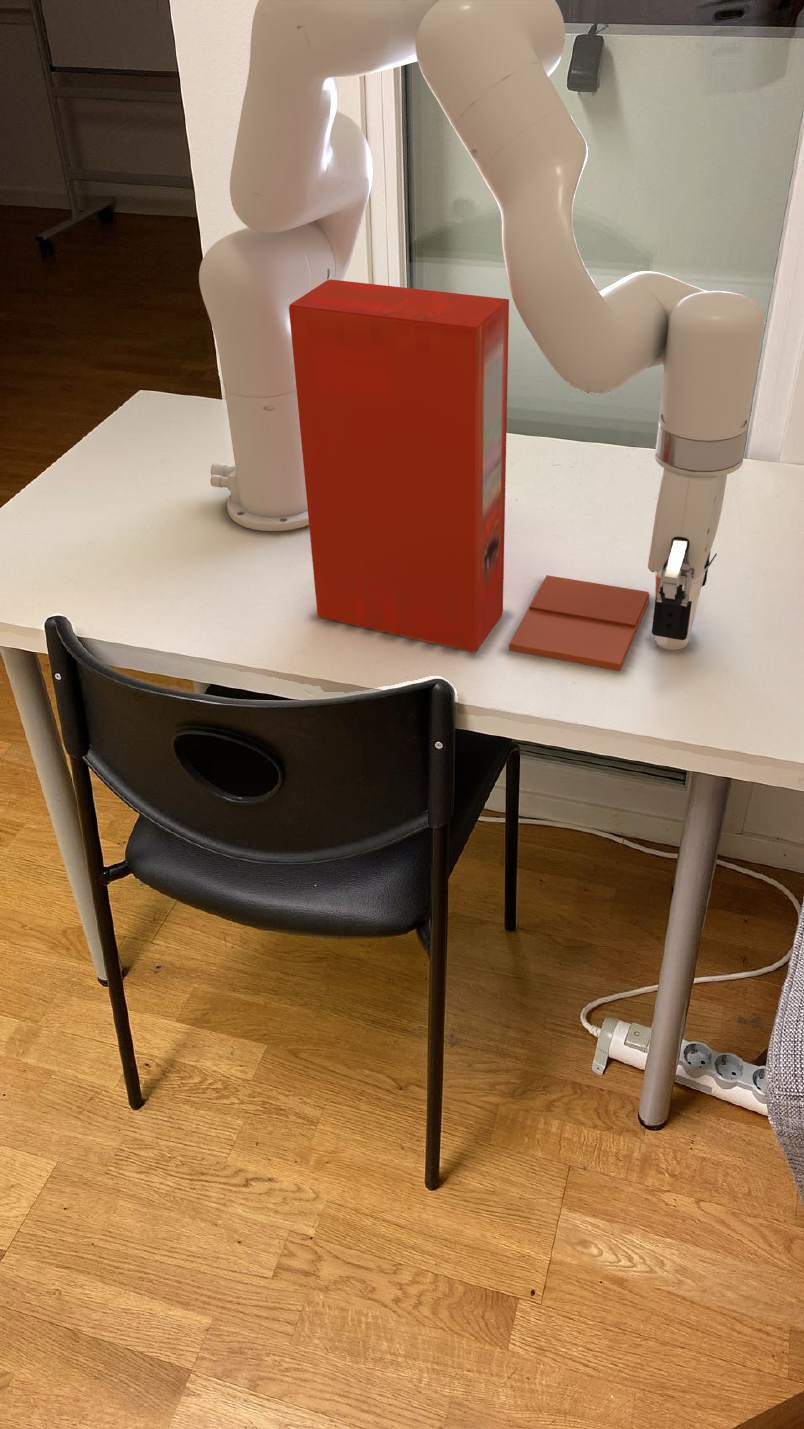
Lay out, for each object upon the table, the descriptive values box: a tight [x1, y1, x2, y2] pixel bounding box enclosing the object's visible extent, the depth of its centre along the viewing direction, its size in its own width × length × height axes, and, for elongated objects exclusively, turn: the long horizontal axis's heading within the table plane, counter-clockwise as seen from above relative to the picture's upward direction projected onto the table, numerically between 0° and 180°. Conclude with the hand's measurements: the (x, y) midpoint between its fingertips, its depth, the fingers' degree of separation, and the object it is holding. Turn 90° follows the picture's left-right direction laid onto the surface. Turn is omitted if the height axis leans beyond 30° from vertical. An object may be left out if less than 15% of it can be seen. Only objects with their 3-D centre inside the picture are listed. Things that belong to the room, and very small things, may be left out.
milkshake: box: [653, 552, 718, 651], centre depth 112 cm, size 4×5×10 cm
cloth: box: [508, 574, 651, 672], centre depth 118 cm, size 11×13×1 cm
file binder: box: [289, 279, 510, 653], centre depth 111 cm, size 8×17×32 cm, turn 65°
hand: (679, 608), depth 113 cm, fingers open, 9 cm apart
